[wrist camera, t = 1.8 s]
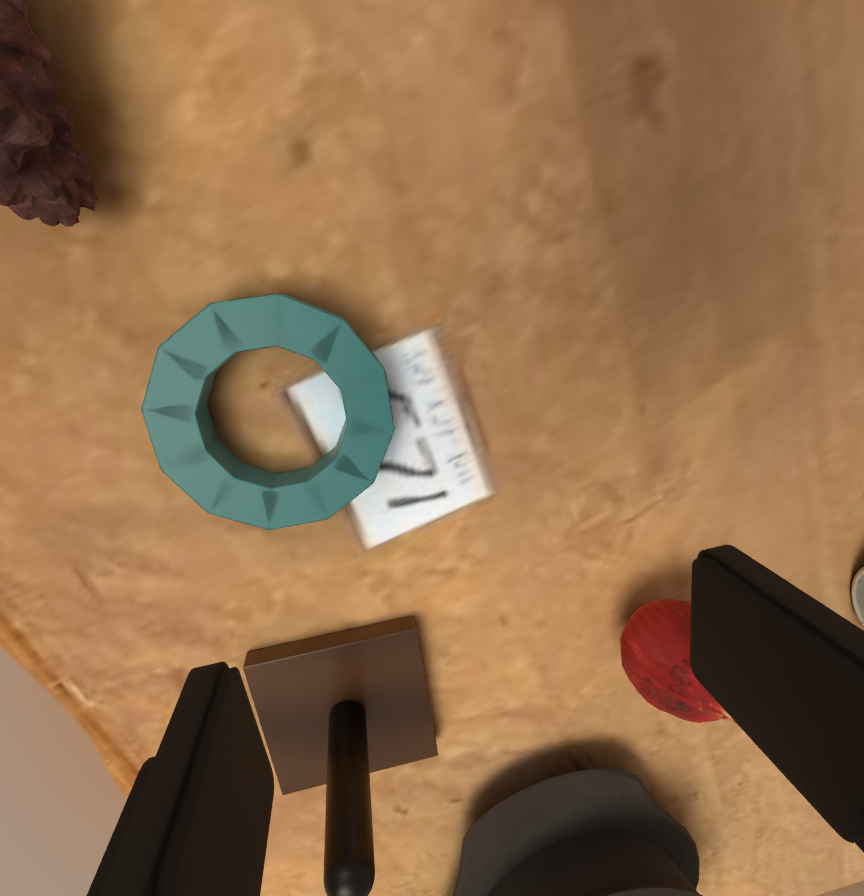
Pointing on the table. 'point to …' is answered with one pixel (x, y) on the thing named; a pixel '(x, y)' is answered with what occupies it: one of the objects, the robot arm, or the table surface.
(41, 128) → the pine cone
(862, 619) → the ceramic mug
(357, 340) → the ring
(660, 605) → the onion
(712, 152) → the table surface
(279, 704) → the stand
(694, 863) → the casserole
